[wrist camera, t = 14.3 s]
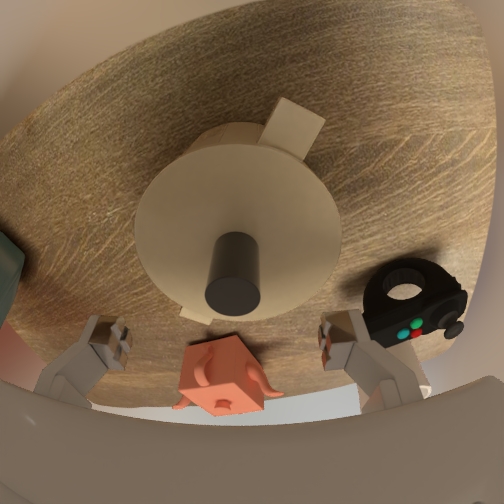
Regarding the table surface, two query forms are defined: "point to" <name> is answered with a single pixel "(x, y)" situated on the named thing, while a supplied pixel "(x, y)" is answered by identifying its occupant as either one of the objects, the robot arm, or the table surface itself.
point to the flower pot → (9, 274)
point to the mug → (410, 359)
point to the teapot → (223, 378)
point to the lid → (238, 231)
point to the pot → (266, 143)
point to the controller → (412, 302)
